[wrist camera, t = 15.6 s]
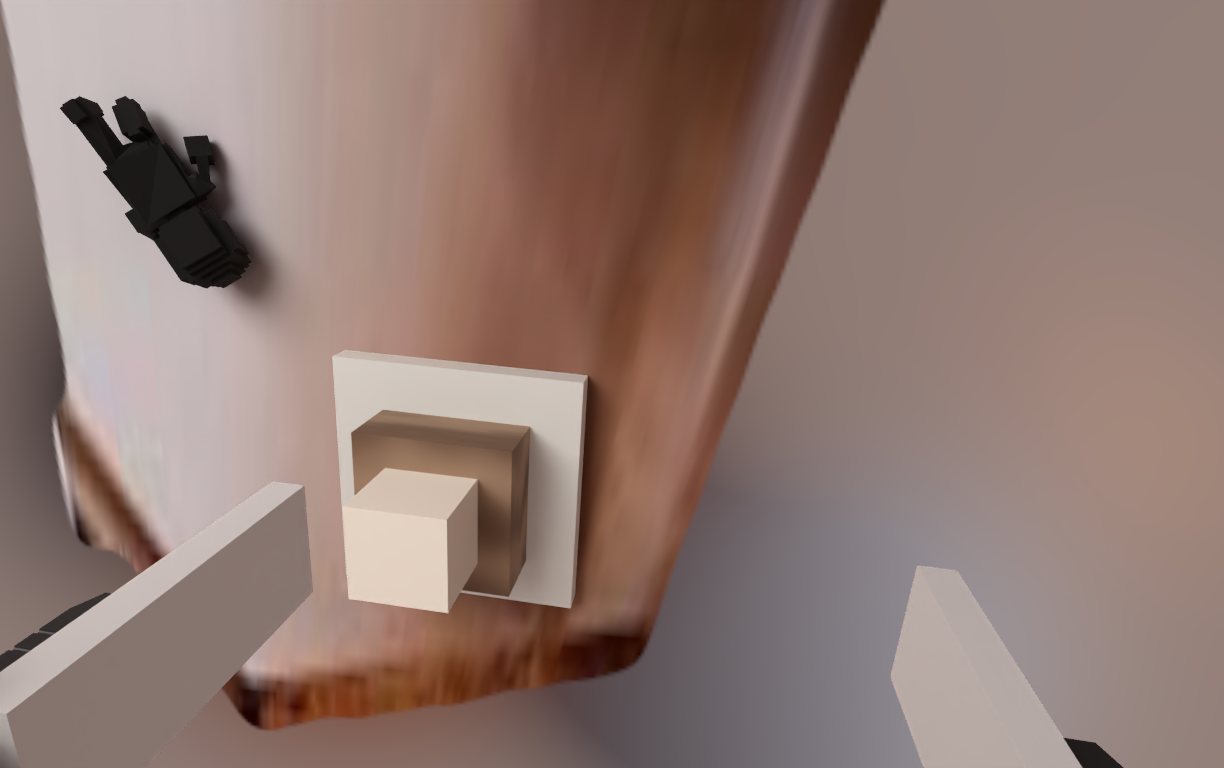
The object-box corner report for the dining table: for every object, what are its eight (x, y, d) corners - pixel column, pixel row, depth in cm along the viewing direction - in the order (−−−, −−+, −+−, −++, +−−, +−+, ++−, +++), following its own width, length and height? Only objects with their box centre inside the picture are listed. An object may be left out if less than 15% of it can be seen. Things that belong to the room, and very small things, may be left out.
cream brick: (385, 467, 49) (342, 506, 43) (477, 479, 48) (446, 519, 42) (388, 551, 51) (348, 598, 45) (477, 563, 50) (448, 613, 44)
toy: (189, 298, 55) (137, 311, 50) (104, 115, 51) (38, 108, 46) (273, 271, 53) (227, 281, 48) (191, 79, 49) (132, 68, 44)
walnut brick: (382, 409, 53) (351, 432, 48) (529, 426, 52) (512, 451, 47) (388, 541, 56) (359, 575, 52) (525, 560, 55) (508, 596, 50)
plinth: (345, 349, 54) (332, 356, 52) (588, 375, 52) (583, 382, 50) (357, 563, 60) (346, 576, 58) (575, 594, 58) (570, 608, 56)
